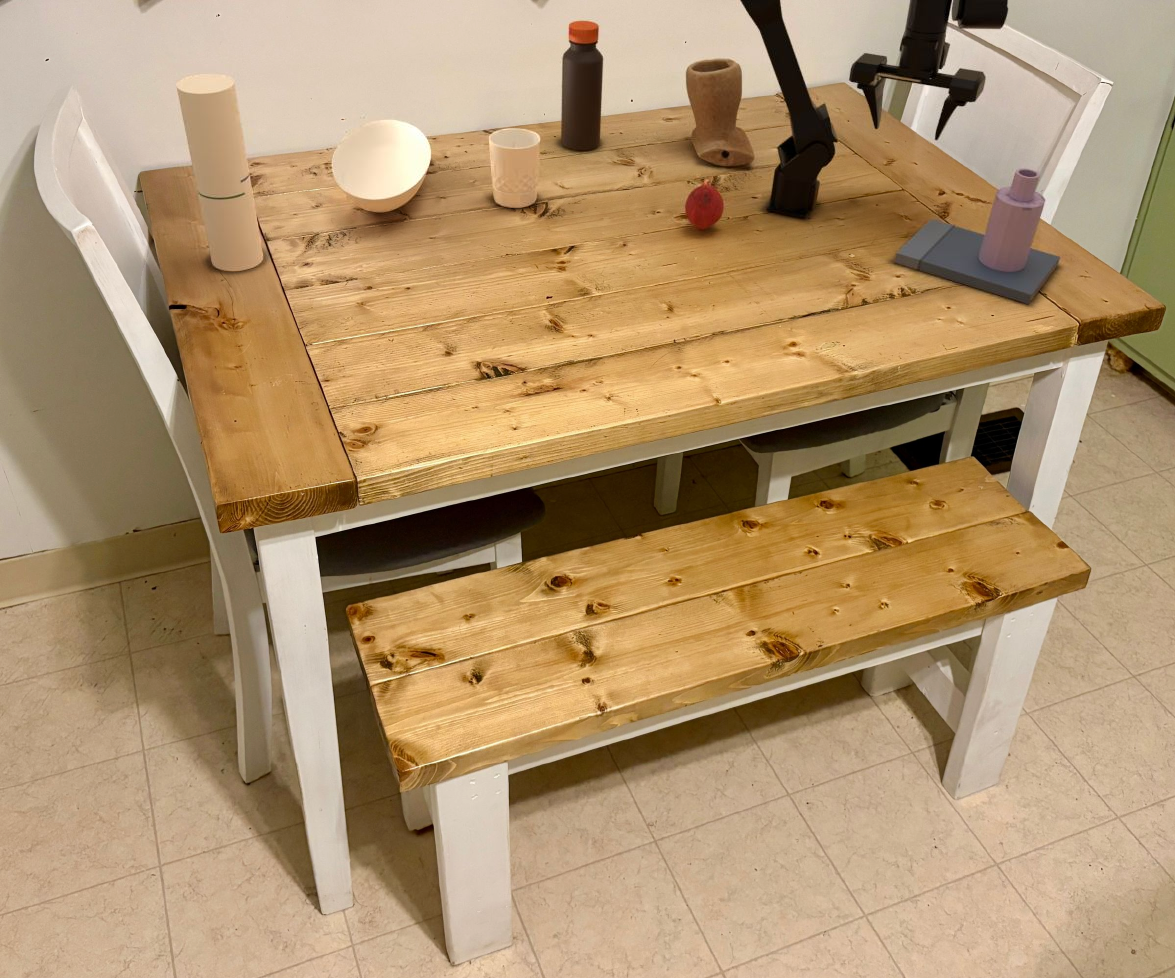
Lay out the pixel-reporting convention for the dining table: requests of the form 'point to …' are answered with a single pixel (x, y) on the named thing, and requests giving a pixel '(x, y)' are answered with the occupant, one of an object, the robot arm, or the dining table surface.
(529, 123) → the dining table surface
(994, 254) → the vase
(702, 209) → the onion
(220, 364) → the dining table surface
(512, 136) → the white cup
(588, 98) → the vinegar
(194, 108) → the cylindrical container
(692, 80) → the clay boot vessel
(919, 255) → the grey stepped slab
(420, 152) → the bowl
